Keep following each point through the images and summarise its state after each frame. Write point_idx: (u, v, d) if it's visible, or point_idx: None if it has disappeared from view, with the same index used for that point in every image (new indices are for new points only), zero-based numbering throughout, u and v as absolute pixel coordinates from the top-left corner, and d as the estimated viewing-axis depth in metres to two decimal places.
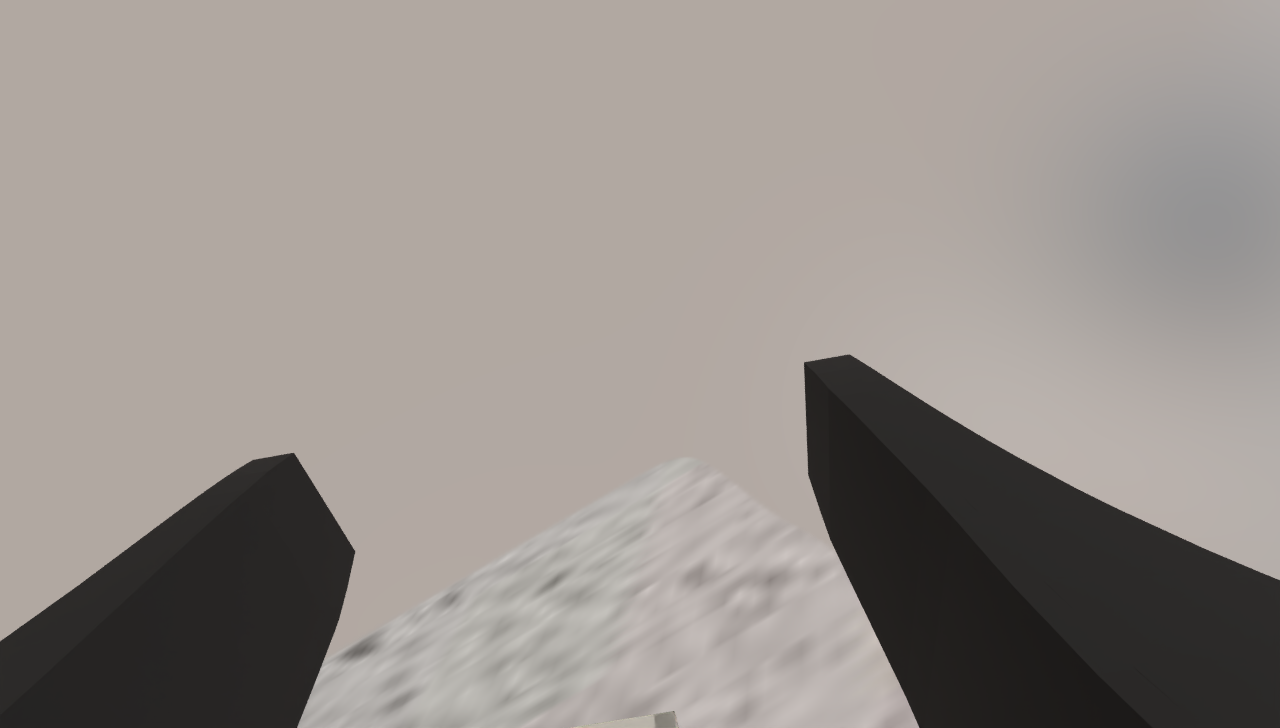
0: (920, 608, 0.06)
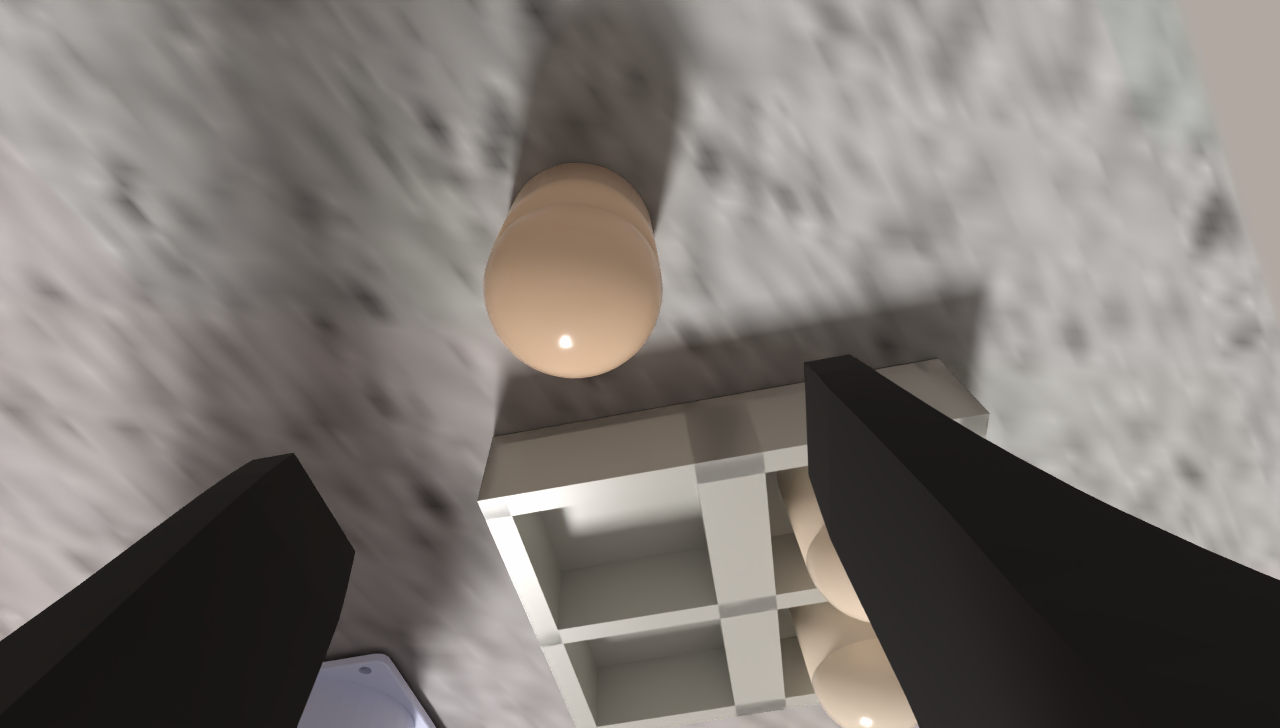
0: (920, 608, 0.06)
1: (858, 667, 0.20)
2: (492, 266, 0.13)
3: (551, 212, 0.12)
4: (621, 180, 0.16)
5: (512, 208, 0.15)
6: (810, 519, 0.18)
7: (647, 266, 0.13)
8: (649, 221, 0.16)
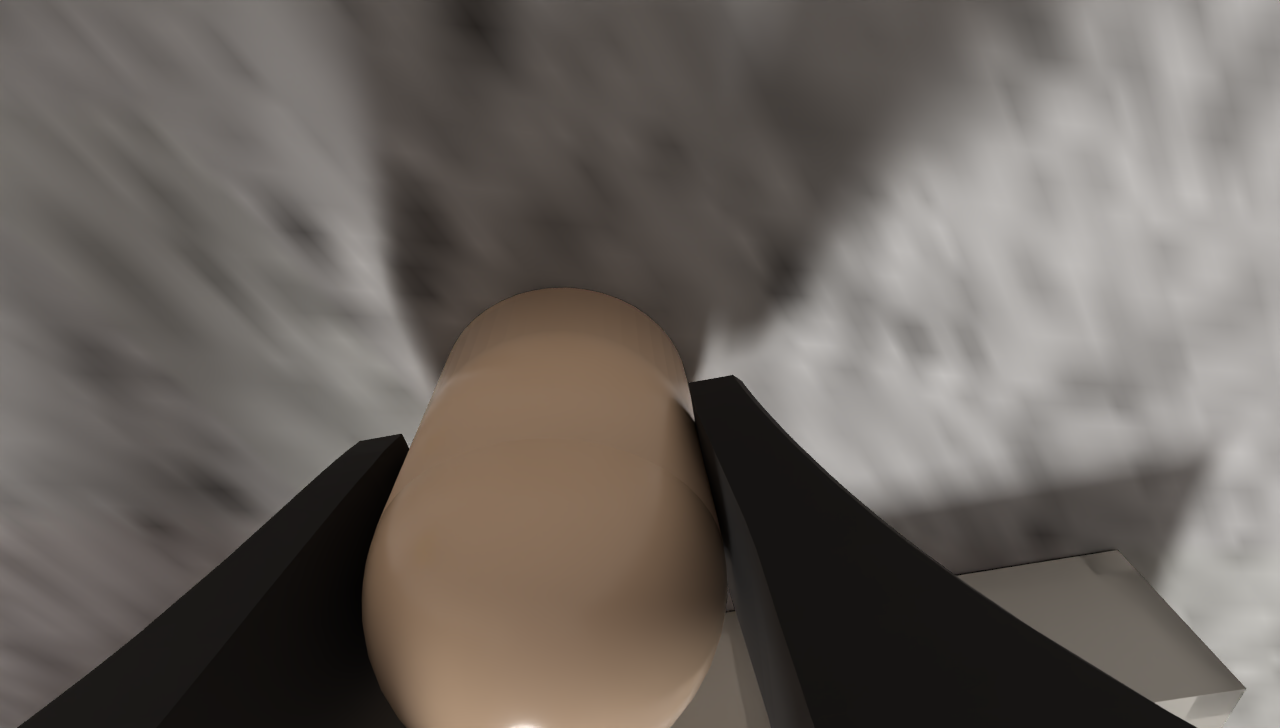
0: (759, 633, 0.06)
1: None
2: (369, 585, 0.06)
3: (495, 470, 0.06)
4: (637, 319, 0.09)
5: (438, 391, 0.08)
6: None
7: (705, 574, 0.06)
8: (687, 393, 0.09)
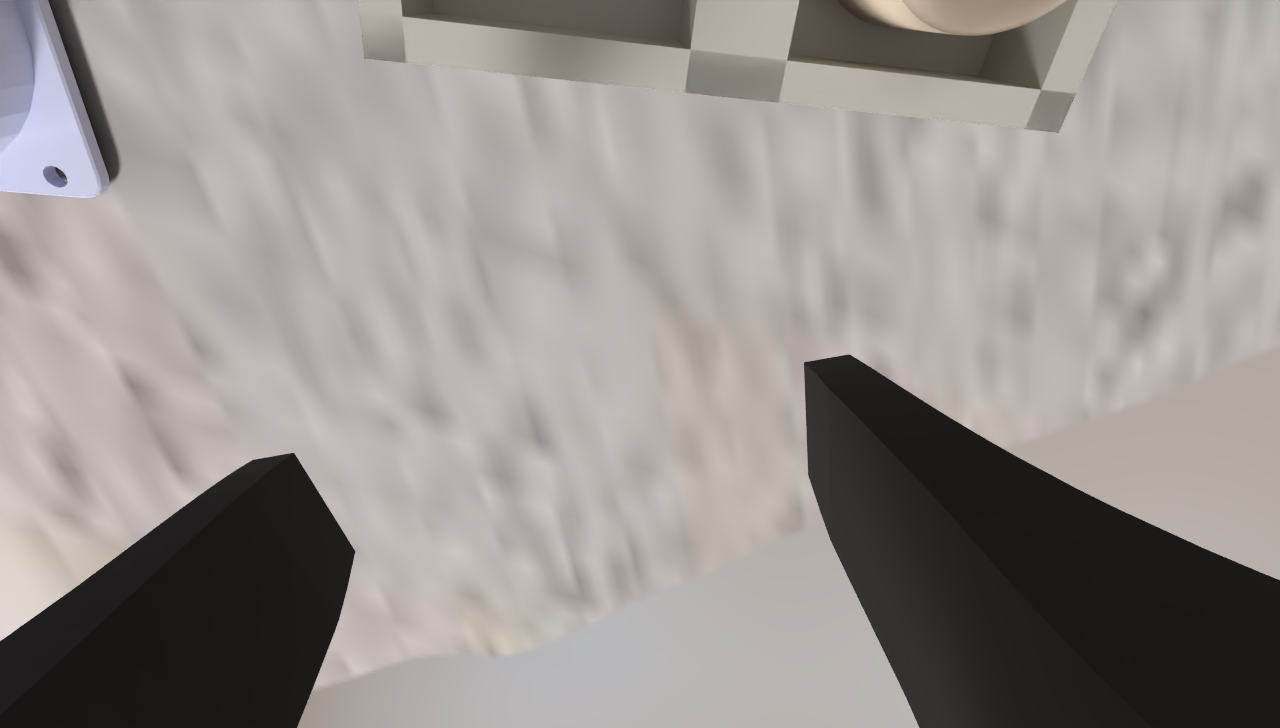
0: (920, 608, 0.06)
1: None
2: None
3: None
4: None
5: None
6: None
7: None
8: None
